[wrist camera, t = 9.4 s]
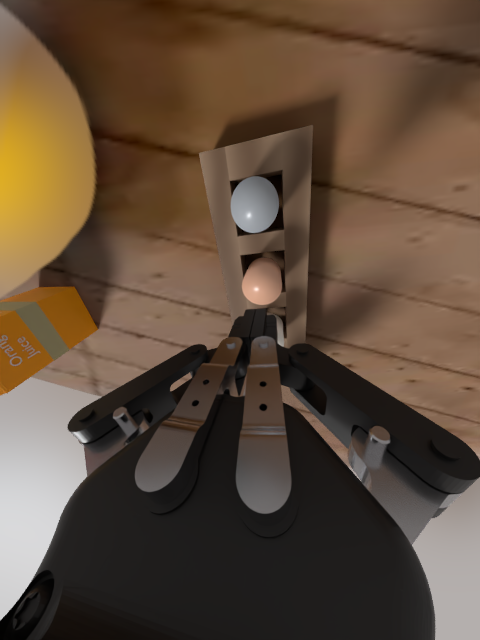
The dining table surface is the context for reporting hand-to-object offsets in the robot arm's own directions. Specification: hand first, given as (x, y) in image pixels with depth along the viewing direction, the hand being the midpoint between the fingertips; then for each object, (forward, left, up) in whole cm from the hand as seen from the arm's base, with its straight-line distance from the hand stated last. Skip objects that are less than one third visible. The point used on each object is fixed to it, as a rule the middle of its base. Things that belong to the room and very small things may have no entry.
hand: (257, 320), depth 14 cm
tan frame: (0, 0, -13) cm, 13 cm away
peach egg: (0, 0, -10) cm, 10 cm away
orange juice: (+36, +4, -13) cm, 39 cm away
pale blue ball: (0, -7, -10) cm, 13 cm away
